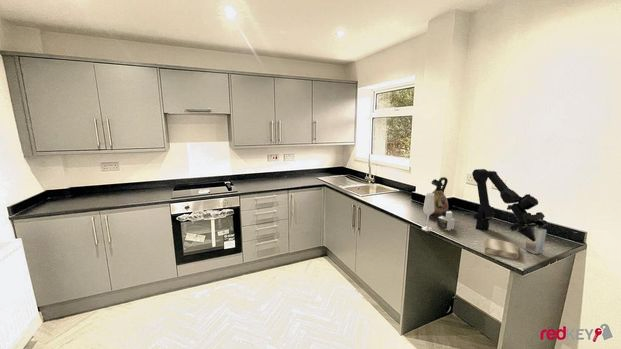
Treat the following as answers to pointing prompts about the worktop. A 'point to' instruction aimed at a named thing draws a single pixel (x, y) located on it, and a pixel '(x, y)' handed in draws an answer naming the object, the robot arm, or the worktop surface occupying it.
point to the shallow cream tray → (500, 248)
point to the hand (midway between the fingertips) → (538, 240)
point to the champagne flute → (428, 208)
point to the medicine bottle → (446, 220)
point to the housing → (536, 240)
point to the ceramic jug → (439, 197)
